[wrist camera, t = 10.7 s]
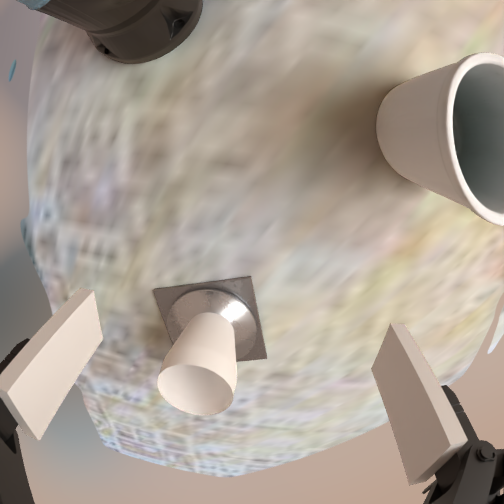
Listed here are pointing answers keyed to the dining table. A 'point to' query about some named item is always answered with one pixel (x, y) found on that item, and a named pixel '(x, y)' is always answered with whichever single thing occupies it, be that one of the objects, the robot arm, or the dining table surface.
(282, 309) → the dining table surface
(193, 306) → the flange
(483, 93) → the utensil holder
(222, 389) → the cup
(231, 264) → the dining table surface
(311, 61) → the dining table surface
